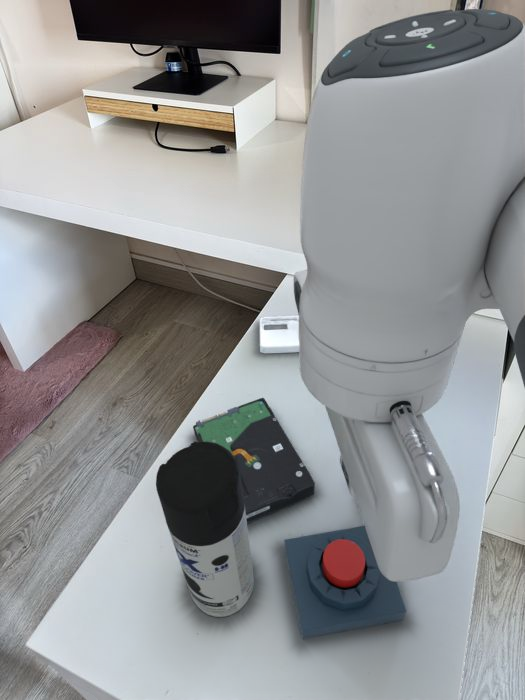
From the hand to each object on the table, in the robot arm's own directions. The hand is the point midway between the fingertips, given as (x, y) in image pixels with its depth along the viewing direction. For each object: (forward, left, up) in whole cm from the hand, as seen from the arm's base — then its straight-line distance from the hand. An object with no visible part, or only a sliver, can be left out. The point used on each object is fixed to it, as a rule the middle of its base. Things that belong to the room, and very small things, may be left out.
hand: (355, 478), depth 39 cm
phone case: (-5, -38, -19) cm, 43 cm away
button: (0, 0, -15) cm, 15 cm away
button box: (0, 0, -19) cm, 19 cm away
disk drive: (+7, -16, -19) cm, 26 cm away
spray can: (+12, -2, -19) cm, 23 cm away
